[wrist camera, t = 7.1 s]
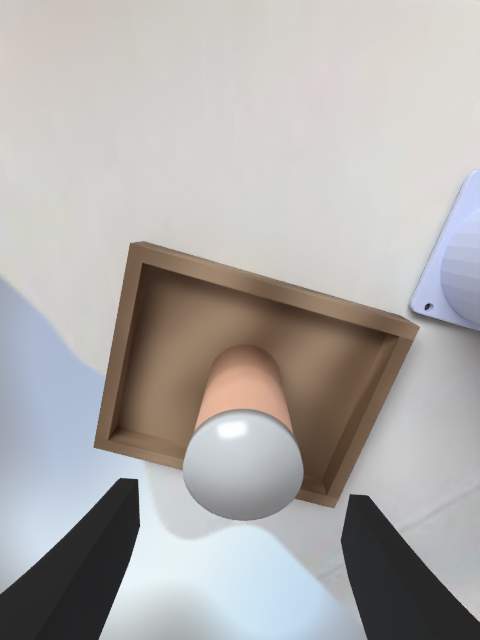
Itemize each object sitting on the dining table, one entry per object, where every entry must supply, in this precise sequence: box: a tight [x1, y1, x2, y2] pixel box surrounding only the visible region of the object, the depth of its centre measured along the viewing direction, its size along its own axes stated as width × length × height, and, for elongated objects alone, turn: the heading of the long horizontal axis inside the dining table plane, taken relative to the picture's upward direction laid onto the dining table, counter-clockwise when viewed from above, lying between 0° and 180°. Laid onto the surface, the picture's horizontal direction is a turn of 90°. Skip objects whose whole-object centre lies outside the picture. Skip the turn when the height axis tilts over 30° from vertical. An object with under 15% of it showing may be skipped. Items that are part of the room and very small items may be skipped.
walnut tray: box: [94, 241, 420, 508], centre depth 19 cm, size 16×13×2 cm
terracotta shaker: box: [183, 345, 304, 521], centre depth 16 cm, size 5×5×8 cm
